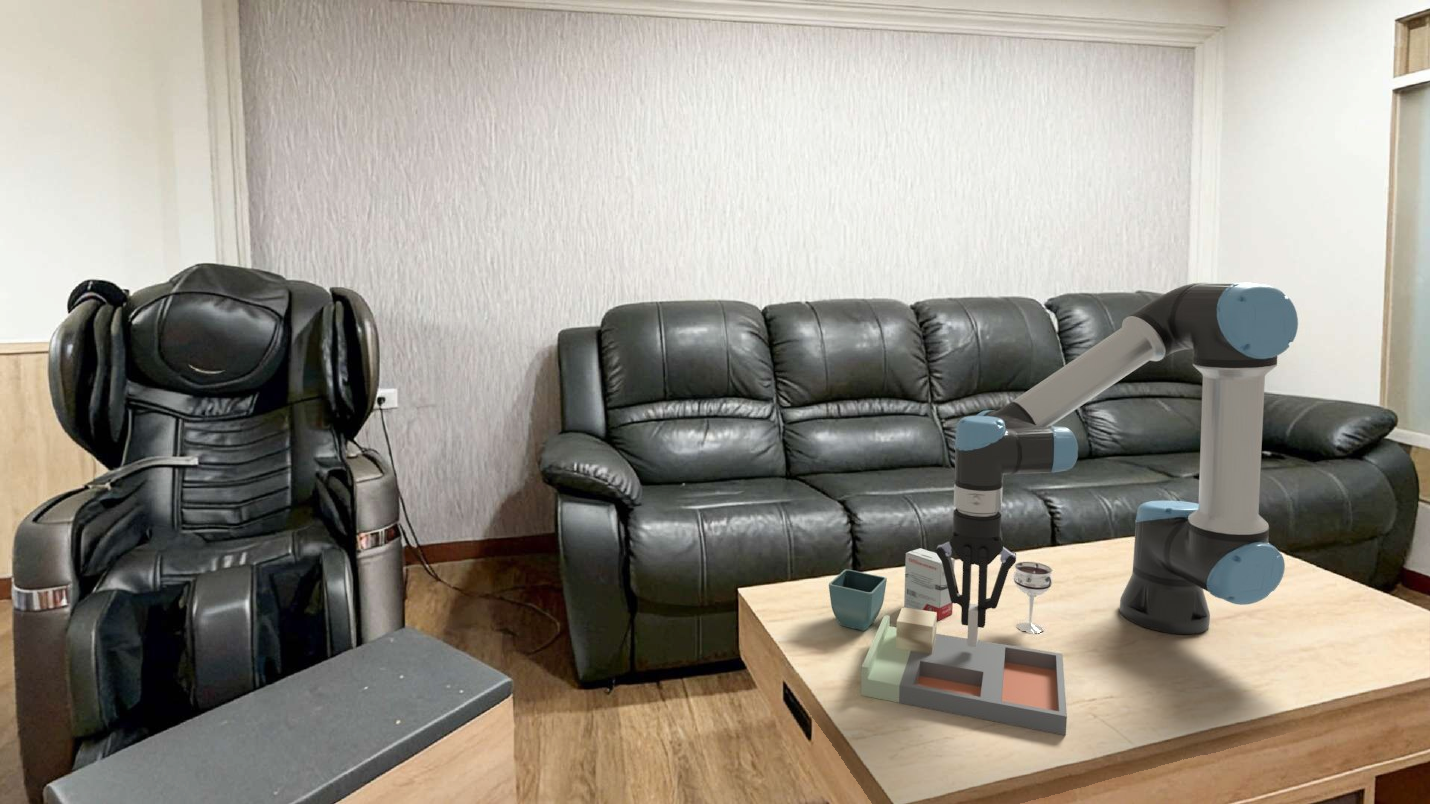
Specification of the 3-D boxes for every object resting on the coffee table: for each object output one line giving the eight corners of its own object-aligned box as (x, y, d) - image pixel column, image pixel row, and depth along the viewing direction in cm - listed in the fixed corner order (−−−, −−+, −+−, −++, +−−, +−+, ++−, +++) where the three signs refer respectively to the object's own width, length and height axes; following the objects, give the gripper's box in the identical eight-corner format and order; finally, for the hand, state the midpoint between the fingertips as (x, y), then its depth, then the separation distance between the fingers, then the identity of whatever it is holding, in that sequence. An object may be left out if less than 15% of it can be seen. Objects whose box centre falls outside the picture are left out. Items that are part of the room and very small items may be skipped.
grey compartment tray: (1061, 670, 129) (1063, 642, 128) (1065, 735, 111) (1067, 704, 110) (883, 640, 140) (884, 615, 139) (861, 695, 122) (861, 666, 121)
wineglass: (1054, 627, 145) (1058, 567, 143) (1041, 639, 140) (1045, 578, 138) (1018, 616, 149) (1021, 558, 147) (1005, 628, 144) (1008, 569, 142)
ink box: (953, 614, 151) (955, 557, 149) (939, 621, 148) (941, 563, 146) (917, 600, 157) (919, 546, 155) (903, 607, 154) (904, 552, 152)
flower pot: (870, 638, 141) (871, 593, 140) (827, 628, 146) (827, 583, 144) (886, 620, 148) (887, 577, 147) (844, 610, 153) (845, 568, 152)
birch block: (935, 638, 134) (936, 612, 133) (931, 654, 129) (932, 626, 128) (901, 633, 137) (902, 607, 136) (896, 648, 131) (896, 621, 130)
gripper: (933, 512, 124) (930, 646, 128) (1019, 520, 119) (1012, 660, 123) (939, 500, 131) (935, 627, 135) (1020, 507, 126) (1014, 639, 130)
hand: (972, 643), depth 129 cm, fingers closed
